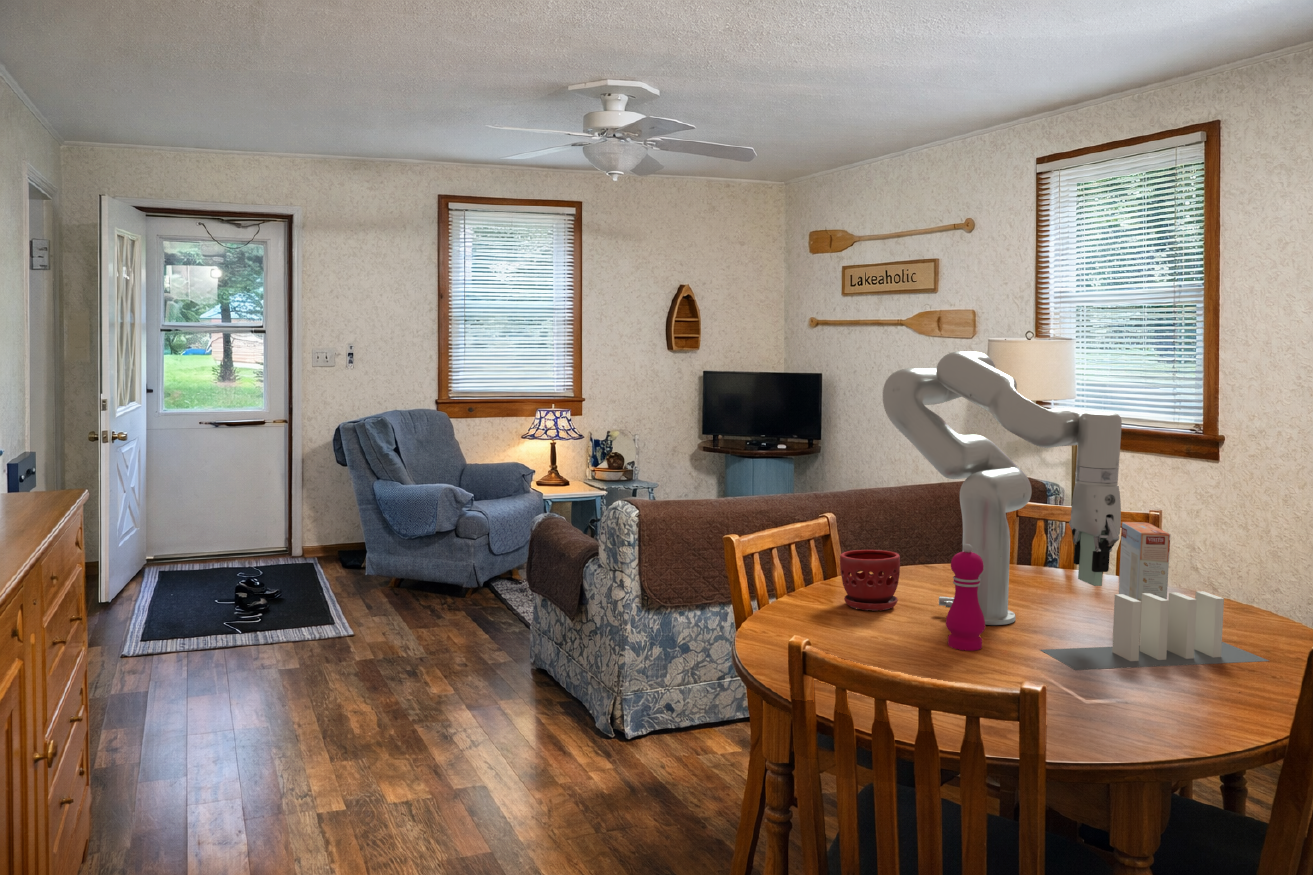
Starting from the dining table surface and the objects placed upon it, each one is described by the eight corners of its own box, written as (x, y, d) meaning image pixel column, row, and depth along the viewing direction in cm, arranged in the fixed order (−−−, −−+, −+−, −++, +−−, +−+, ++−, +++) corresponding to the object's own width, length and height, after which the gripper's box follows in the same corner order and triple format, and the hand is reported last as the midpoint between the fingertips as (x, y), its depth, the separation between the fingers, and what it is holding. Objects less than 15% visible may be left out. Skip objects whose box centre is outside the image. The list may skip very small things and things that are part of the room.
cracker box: (1167, 637, 195) (1172, 533, 193) (1134, 635, 196) (1139, 532, 194) (1146, 618, 208) (1151, 521, 207) (1116, 617, 210) (1120, 520, 208)
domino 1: (1130, 661, 178) (1132, 601, 177) (1112, 652, 183) (1114, 594, 182) (1138, 660, 178) (1141, 601, 177) (1120, 651, 183) (1122, 594, 182)
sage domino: (1094, 585, 188) (1097, 529, 187) (1078, 578, 194) (1081, 524, 192) (1101, 585, 188) (1105, 529, 187) (1085, 578, 194) (1089, 524, 193)
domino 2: (1158, 659, 178) (1160, 600, 178) (1139, 650, 184) (1141, 593, 183) (1166, 659, 179) (1169, 600, 178) (1147, 650, 184) (1149, 593, 183)
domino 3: (1185, 658, 179) (1188, 599, 178) (1166, 649, 185) (1168, 592, 184) (1193, 658, 179) (1196, 599, 178) (1174, 649, 185) (1176, 592, 184)
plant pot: (897, 600, 224) (898, 548, 223) (901, 615, 211) (902, 560, 210) (839, 597, 226) (839, 546, 225) (839, 612, 213) (840, 558, 212)
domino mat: (1075, 672, 173) (1075, 669, 173) (1039, 652, 185) (1039, 649, 185) (1269, 663, 178) (1269, 660, 178) (1222, 644, 190) (1223, 641, 190)
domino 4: (1213, 657, 180) (1216, 598, 179) (1192, 648, 185) (1195, 591, 184) (1221, 657, 180) (1224, 598, 179) (1200, 648, 186) (1203, 591, 185)
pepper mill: (964, 653, 184) (967, 548, 182) (937, 643, 190) (939, 542, 188) (992, 648, 187) (996, 545, 185) (964, 638, 193) (967, 539, 192)
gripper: (1142, 482, 181) (1135, 578, 183) (1089, 469, 198) (1083, 557, 200) (1104, 482, 180) (1098, 579, 182) (1054, 469, 197) (1049, 558, 199)
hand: (1090, 566), depth 191 cm, fingers closed on sage domino, 5 cm apart
